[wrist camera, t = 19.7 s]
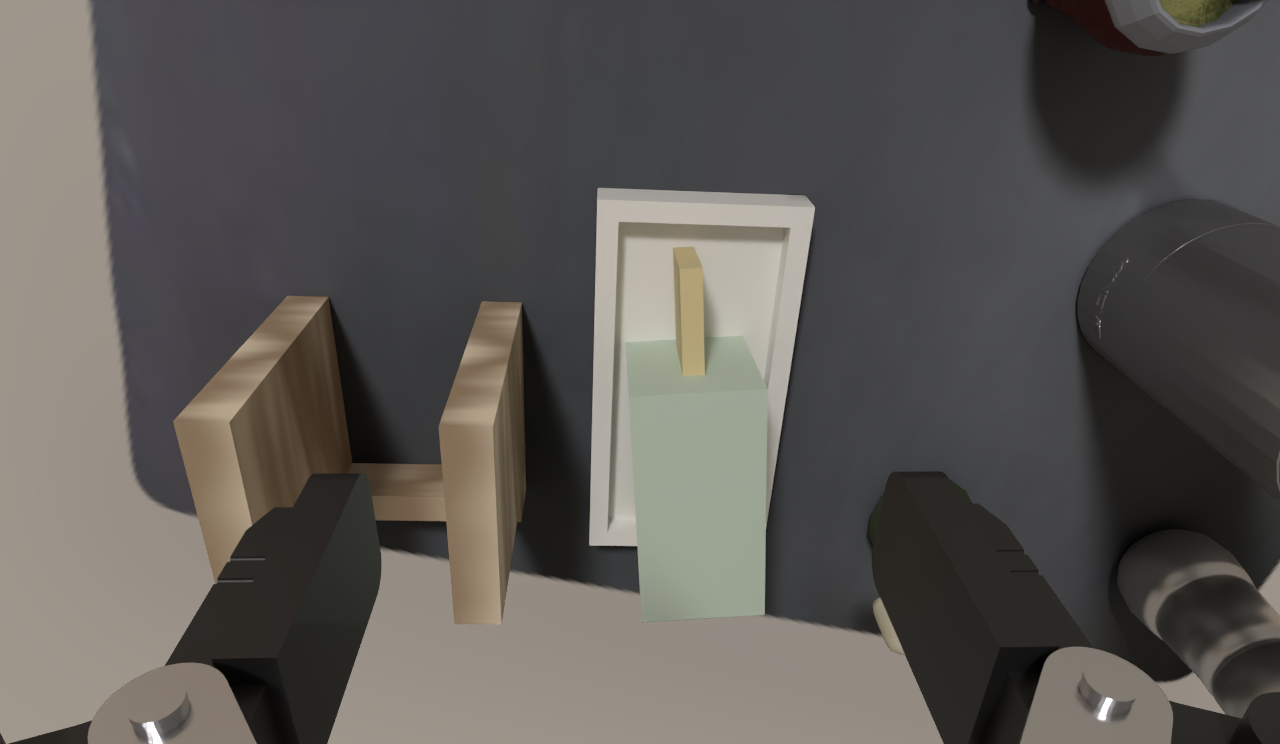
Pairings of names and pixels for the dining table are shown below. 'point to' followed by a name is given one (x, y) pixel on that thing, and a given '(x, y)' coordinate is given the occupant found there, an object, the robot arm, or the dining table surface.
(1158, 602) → the plastic bottle
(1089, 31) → the mate gourd
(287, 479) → the bay
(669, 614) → the green block with tab
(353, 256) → the dining table surface
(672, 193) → the tray
